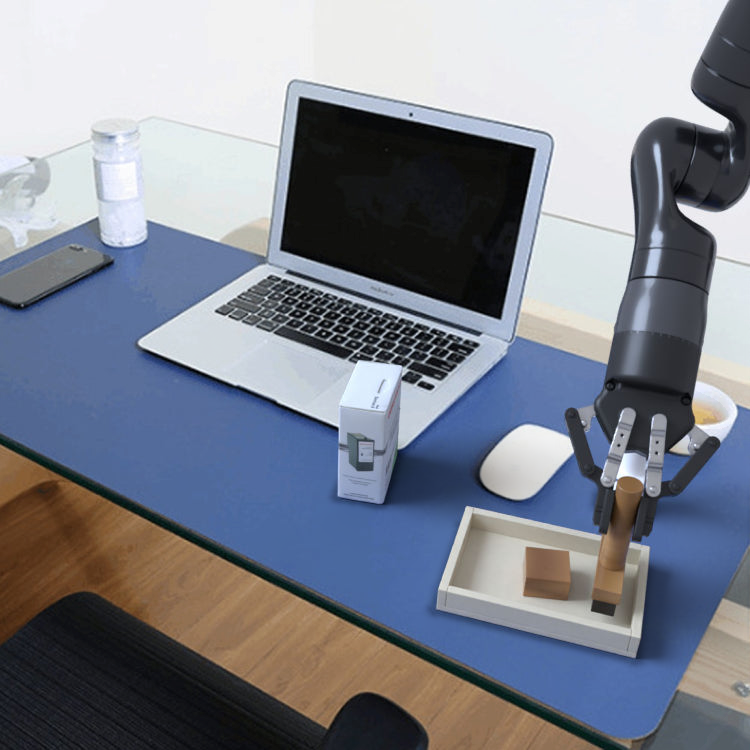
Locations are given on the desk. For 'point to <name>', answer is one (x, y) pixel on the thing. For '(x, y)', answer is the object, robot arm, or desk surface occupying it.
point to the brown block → (546, 573)
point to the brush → (616, 547)
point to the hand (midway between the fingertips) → (619, 536)
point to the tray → (531, 614)
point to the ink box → (369, 431)
